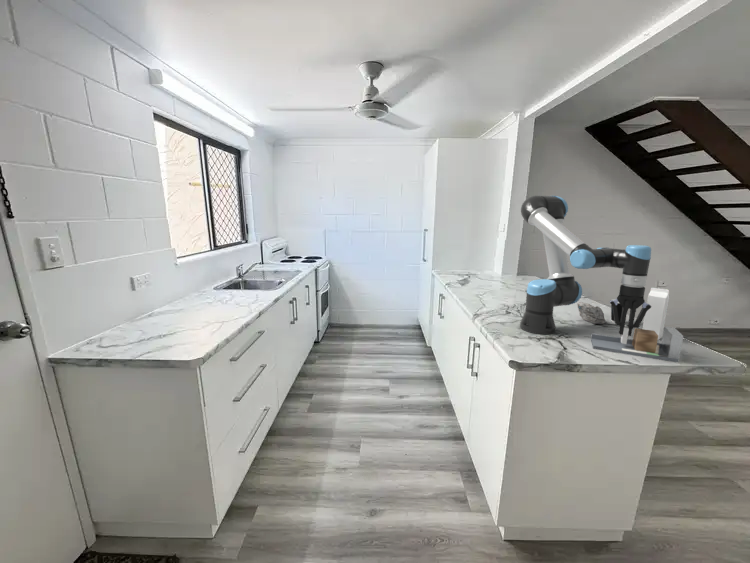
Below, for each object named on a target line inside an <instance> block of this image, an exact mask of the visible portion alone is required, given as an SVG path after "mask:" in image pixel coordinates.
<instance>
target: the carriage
mask: <svg viewBox="0 0 750 563" xmlns="http://www.w3.org/2000/svg"><path fill="white" fill-rule="evenodd" d="M633 331H634V332H633V335H632V336H633V337H632V339H633V342H632V345H633V347H634V349H635V350H639V351H645V352H652V353H656V354H658V352H659V345H657V343H658V341H659V340H658V335H657V334H656V332H655V331H652V330H644V329H643V328H634V330H633Z"/></svg>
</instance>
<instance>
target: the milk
mask: <svg viewBox="0 0 750 563" xmlns="http://www.w3.org/2000/svg"><path fill="white" fill-rule="evenodd" d="M669 301H670V290H669V289H666V288H661V287H660V288H659V287H651V288H650V291H649V293H648V296H647V300H646V303H647V304H649V305H650V306H651V308H650V309H649V310H648V311H647V312H646V314H645V316H644V318H643V324H642V329H644V330H652V331H655V332H656V334H657V335H658V340H657V341H660V339H662V337H663V332H664V326H665V323H666V318H667V311H668V307H669V306H668V305H669Z"/></svg>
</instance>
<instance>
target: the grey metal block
mask: <svg viewBox="0 0 750 563" xmlns="http://www.w3.org/2000/svg"><path fill="white" fill-rule="evenodd" d="M683 339H684V335H683V334H682V333H681V332H680V331H679V330H678V329H677V328H675V327H674V326H673V327H672V326H665V325H664V329H663V335H662V337H661V342H660V343H662V347H661V349H662V351H663V352H664V353H665V354H666V355H667V356H668V358H674V359H679V360H680V355H681V351H682V345H683V341H684V340H683Z"/></svg>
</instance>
